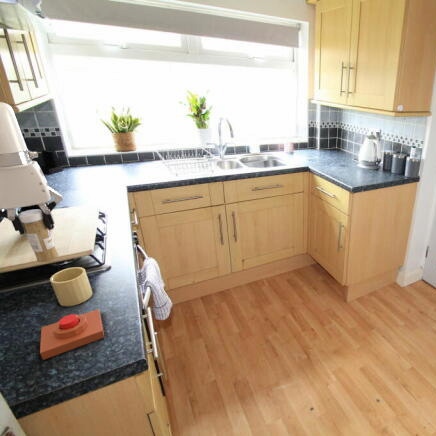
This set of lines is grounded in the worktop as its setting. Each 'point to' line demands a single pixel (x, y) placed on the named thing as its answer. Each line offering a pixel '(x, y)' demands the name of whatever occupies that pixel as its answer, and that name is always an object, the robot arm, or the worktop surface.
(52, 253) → the sprinkles bottle
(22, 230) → the robot arm
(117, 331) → the worktop surface
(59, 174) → the worktop surface
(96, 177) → the worktop surface
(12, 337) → the worktop surface
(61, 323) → the button
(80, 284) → the cup
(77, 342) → the panel
